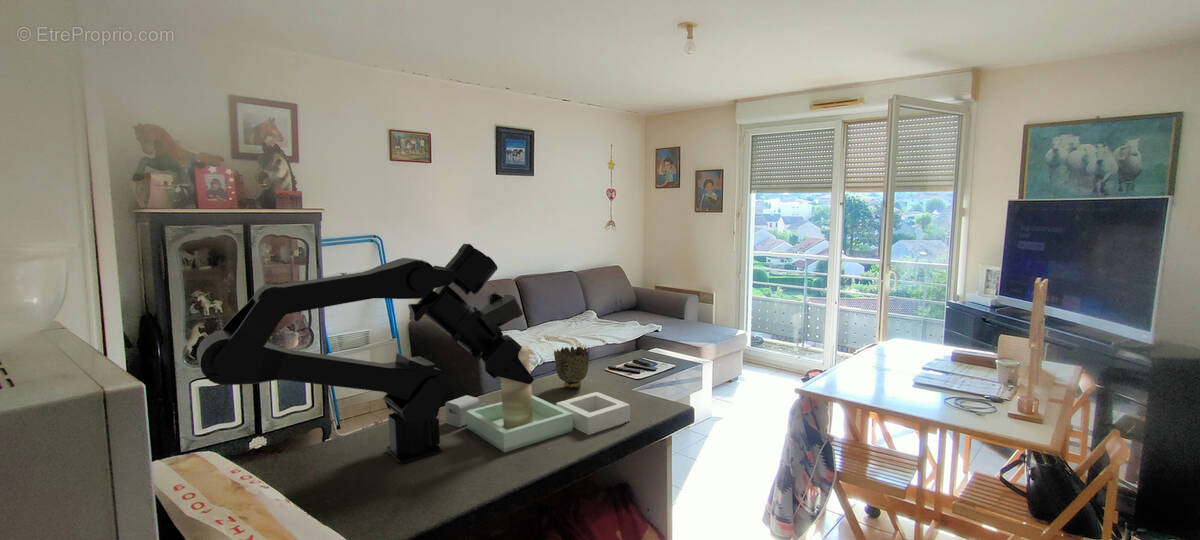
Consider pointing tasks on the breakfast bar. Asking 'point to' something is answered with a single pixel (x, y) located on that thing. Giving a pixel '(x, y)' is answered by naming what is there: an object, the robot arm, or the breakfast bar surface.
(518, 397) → the beech dowel
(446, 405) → the usb wall charger
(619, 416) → the white square frame
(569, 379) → the cup
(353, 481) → the breakfast bar surface
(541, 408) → the pale green tray
